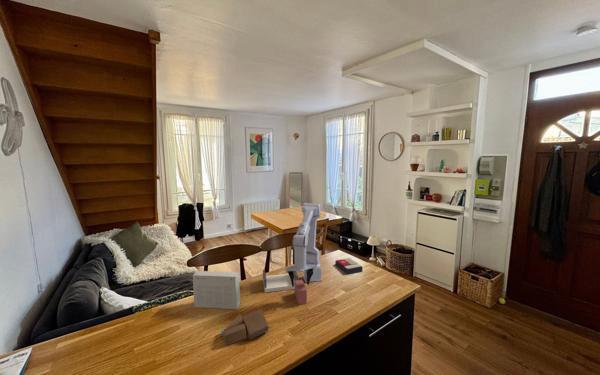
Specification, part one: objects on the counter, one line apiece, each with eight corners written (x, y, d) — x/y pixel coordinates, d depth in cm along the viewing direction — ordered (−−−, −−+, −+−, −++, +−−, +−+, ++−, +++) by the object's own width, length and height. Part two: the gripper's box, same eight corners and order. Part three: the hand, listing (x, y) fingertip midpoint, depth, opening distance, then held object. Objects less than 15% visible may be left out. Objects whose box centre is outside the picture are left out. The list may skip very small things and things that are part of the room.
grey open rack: (293, 276, 146) (293, 265, 146) (298, 288, 133) (298, 277, 132) (262, 279, 143) (262, 268, 142) (264, 292, 129) (264, 280, 128)
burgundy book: (302, 292, 129) (302, 279, 128) (306, 303, 120) (306, 289, 119) (294, 293, 128) (294, 280, 128) (298, 304, 119) (298, 290, 118)
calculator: (349, 257, 166) (362, 265, 152) (349, 263, 166) (362, 272, 152) (335, 259, 162) (347, 268, 148) (335, 266, 162) (347, 275, 148)
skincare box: (240, 303, 120) (239, 272, 118) (236, 310, 115) (235, 277, 113) (199, 300, 122) (197, 270, 120) (193, 307, 117) (191, 275, 115)
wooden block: (223, 333, 104) (264, 318, 109) (223, 353, 91) (270, 335, 97) (219, 316, 104) (261, 302, 109) (219, 334, 91) (267, 316, 96)
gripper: (287, 263, 116) (287, 290, 118) (316, 260, 119) (316, 287, 121) (284, 257, 123) (284, 283, 124) (312, 254, 126) (312, 280, 128)
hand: (300, 284), depth 123 cm, fingers open, 7 cm apart
